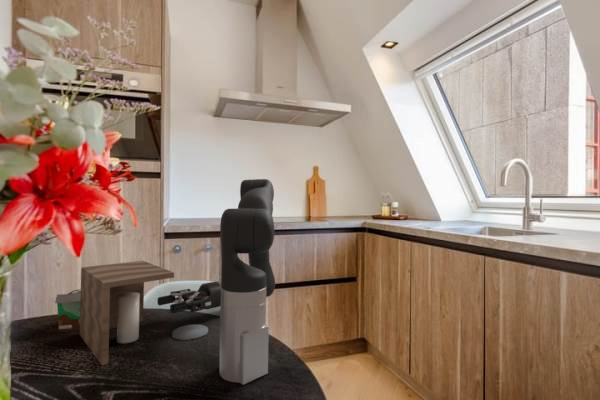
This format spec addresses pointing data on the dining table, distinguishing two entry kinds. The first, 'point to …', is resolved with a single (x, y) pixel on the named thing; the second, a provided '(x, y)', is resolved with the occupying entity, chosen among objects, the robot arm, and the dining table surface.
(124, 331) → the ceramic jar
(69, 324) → the food container
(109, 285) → the walnut cubby
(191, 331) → the grey coaster
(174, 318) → the dining table surface
